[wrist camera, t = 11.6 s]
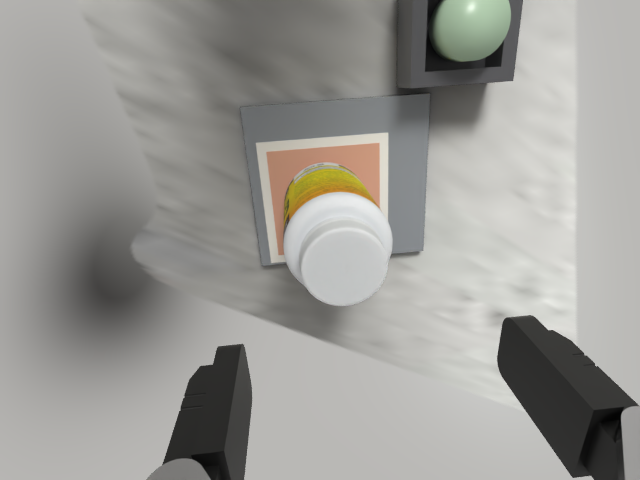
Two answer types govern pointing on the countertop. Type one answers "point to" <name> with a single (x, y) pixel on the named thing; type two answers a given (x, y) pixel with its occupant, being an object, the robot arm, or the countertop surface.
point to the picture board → (341, 159)
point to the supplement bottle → (335, 235)
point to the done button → (468, 28)
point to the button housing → (432, 70)
